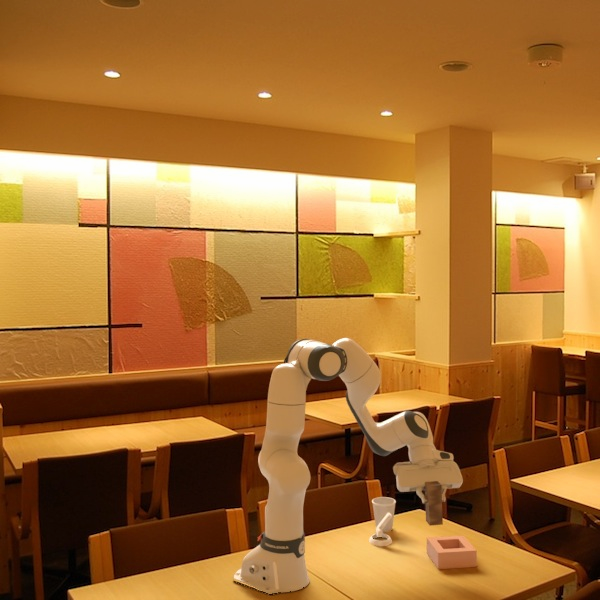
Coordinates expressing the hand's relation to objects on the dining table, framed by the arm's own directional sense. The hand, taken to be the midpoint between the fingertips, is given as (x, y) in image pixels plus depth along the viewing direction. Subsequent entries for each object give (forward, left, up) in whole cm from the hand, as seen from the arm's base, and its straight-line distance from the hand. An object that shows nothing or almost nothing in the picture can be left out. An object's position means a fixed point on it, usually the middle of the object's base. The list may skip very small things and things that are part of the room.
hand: (434, 501), depth 211 cm
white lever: (-22, +12, -21) cm, 33 cm away
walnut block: (0, +1, -7) cm, 7 cm away
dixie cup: (-25, +23, -21) cm, 40 cm away
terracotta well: (+3, +8, -20) cm, 22 cm away
